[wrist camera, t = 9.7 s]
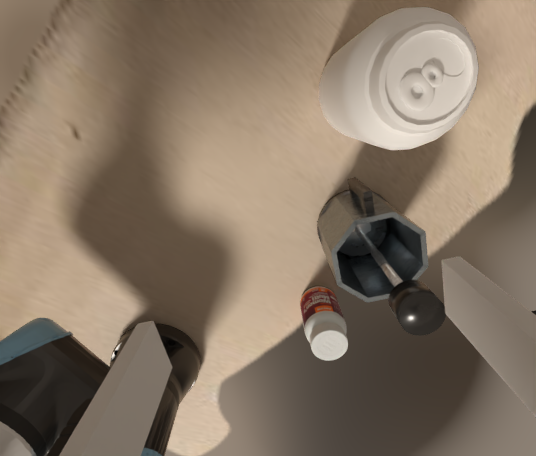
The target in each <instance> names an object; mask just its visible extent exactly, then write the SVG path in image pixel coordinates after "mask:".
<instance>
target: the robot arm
mask: <svg viewBox="0 0 536 456" xmlns="http://www.w3.org/2000/svg"><path fill="white" fill-rule="evenodd" d="M442 273H443V288H444V302H445V314H446V315H447V316H448V317H449V318H450V319H451V320H452V321H453V323H454V324H455V325H456V326H457V327H458V328H459V330H460V331H461V332H462V333H463V334H464V335H465V336H466V338H467V339H468V340H469V341H470V342H471V343H472V345H473V346H474V347H475V348H476V349H477V350H478V351H479V353H480V354H481V355H482V356H483V357H484V358H485V360H486V361H487V362H488V363H489V364H490V365H491V366H492V368H493V369H494V370H495V371H496V372H497V373H498V374H499V376H500V377H501V378H502V379H503V380H504V381H505V382H506V383H507V385H508V386H509V387H510V388H511V389H512V391H513V392H514V393H515V394H516V395H517V396H518V397H519V399H520V400H521V401H522V402H523V403H524V404H525V406H526V407H527V408H528V409H529V410H530V411H531V412H532V414H533V415H534V416H535V417H536V311H530V310H528V309H527V308H526V307H524V306H523V305H522V304H521V303H519V302H518V301H517V300H516V299H514V298H513V297H512V296H510V295H509V294H508V293H506V292H505V291H504V290H502V289H501V288H500V287H499V286H497V285H496V284H495V283H493V282H492V281H491V280H489V279H488V278H487V277H486V276H484V275H483V274H482V273H481V272H479V271H478V270H477V269H475V268H474V267H472V266H471V265H470V264H469V263H467V262H466V261H465V260H464V259H462V258H461V257H459V256H458V257H454V258H449V259H444V260H442ZM200 364H201V360H200V354H199V351H198V349H197V347H196V345H195V343H194V342H193V341H192V340H191V339H190V338H189V337H188V336H187V335H186V334H185V333H183V332H182V331H180V330H178V329H176V328H173V327H171V326H167V325H163V324H154V321H148V322H143V323H138V324H137V325H136V327H135V328H133V329H131V330H129V331H128V332H127V333H125V334H124V335H123V336H122V338H121V339H120V340H119V342H118V344H117V345H116V347H115V349H114V351H113V353H112V356H111V362H110V367H109V366H108V365H107V364H105V363H104V362H103V361H102V360H101V359H99V358H98V357H97V356H96V355H95V354H94V353H92V352H91V351H90V350H89V349H88V348H86V347H85V346H84V345H83V344H82V343H80V342H79V341H78V340H77V339H76V338H75V337H73V334H72V333H71V332H67V331H66V330H64V329H63V328H62V327H60V326H59V325H58V324H56V323H55V322H54V321H52V320H51V319H48V318H37V319H34V320H32V321H30V322H29V323H27V324H25V325H24V326H22V327H21V328H19V329H18V330H16V331H15V332H13V333H12V334H10V335H9V336H7V337H6V338H4V339H3V340H2V341H0V456H164V455H165V452H166V448H167V445H168V441H169V438H170V434H171V431H172V427H173V424H174V420H175V417H176V413H177V410H178V406H179V404H180V402H181V401H182V399H183V398H184V397H185V395H186V394H187V392H189V391H190V389H191V388H192V387H193V385H194V384H195V382H196V380H197V377H198V373H199V369H200Z"/></svg>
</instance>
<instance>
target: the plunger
mask: <svg viewBox="0 0 536 456" xmlns="http://www.w3.org/2000/svg"><path fill="white" fill-rule="evenodd" d="M386 231H387V224H386V220H385V219H382V220H377V221H373V222H368V223H364V224H359V225H357V226H356V227H355V228H354V230H353V231H352V232H351V234H350V235H349V236H348V238H347V239H346V240H345V242H344V243H343V245H342V246H341V247H340V249H339V251H341V252H342V253H344V254H346V255H350V256H362V255H366V254H368V253H371V255H372V256H373V257H374V259H375V260H376V262H377V263H378V264H379V266H380V267H381V268H382V270H383V271H384V273H385V274H386V275H387V277H388V278H389V280H390V281H391V282H392V284H393V285H394V288H393V289H392V291H391V292H390V295H389V300H388V302H389V306H390V307H391V310H392V311H393V313H394V314H395V316H396V318H397V319H398V321H399V323H400V324H401V326H402V327H403V328H404V330H405V331H406V332H408V333H410V334H413V335H426V334H430V333H432V332H434V331H435V330H437V329H438V328H439V327H440V326H441V324H442V323H443V322H444V320H445V317H446V314H445V306H444V305H443V303H442V302H441V301H440V300H439V299H438V298H437V297H436V295H435V294H434V293H433V292H432V291H431V290H430V289H429V288H428V286H426V285H425V284H424V283H423V282H421V281H418V280H406V281H402V280H401V278H400V277H399V276H398V275H397V273H396V272H395V271H394V269H393V268H392V267H391V266H390V264H389V263H388V262H387V261H386V259H385V258H384V257H383V255H382V254H381V253H380V252H379V250H378V249H377V247H379V245H380V244H381V243H382V241H383V240H384V238H385V235H386Z"/></svg>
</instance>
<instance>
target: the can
mask: <svg viewBox="0 0 536 456" xmlns="http://www.w3.org/2000/svg"><path fill="white" fill-rule="evenodd" d="M478 69H479V66H478V60H477V54H476V48H475V45H474V43H473V41H472V39H471V37H470V35H469V33H468V32H467V30H466V28H465V27H464V26H463V25H462V24H461V23H460V22H458V21H457V20H456V19H455V18H454V17H452V16H451V15H450V14H448V13H445V12H442V11H439V10H436V9H432V8H429V7H414V8H400V9H398V10H396V11H393V12H391V13H389V14H386V15H384V16H381V17H379V18H378V19H377V20H375V21H374V22H373V23H372V24H370V25H369V26H368V27H367V28H365V29H364V30H363V31H361V32H360V33H359V34H358V35H356V36H355V37H354V38H353V39H351V40H350V41H349V42H348V43H346V44H345V45H344V46H343V47H342V48H340V49H339V50H338V51H337V52H336V53H335V54H333V55H332V57H331V58H330V60H329V61H328V63H327V65H326V66H325V68H324V69H323V72H322V76H321V79H320V83H319V103H320V106H321V109H322V112H323V115H324V117H325V118H326V119H327V121H328V122H329V123H330V125H331V126H332V127H333V128H334V129H336V130H337V131H339V132H340V133H342V134H343V135H346V136H349V137H351V138H354V139H357V140H360V141H363V142H365V143H368V144H371V145H374V146H378V147H381V148H385V149H388V150H407V149H413V148H416V147H418V146H421V145H424V144H426V143H429V142H432V141H434V140H436V139H438V138H439V137H440V136H442V135H443V134H444V133H446V132H447V131H448V130H450V129H451V128H453V126H454V125H455V124H456V123H457V121H458V120H459V119H460V118H461V116H462V115H463V114H464V113H465V111H466V110H467V108H468V106H469V103H470V101H471V99H472V96H473V94H474V92H475V90H476V83H477V76H478Z"/></svg>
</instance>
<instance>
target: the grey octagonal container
mask: <svg viewBox="0 0 536 456" xmlns="http://www.w3.org/2000/svg"><path fill="white" fill-rule="evenodd" d="M348 184H349V190H346V191H343V192H341V193H339V194H337V195H335V196H334V197H333V198H331V199H330V200H329V201H328V202H327V203H326V205H325V206H324V207H323V209H322V211H321V213H320V215H319V218H318V221H317V222H318V224H317V230H318V236H319V239H320V241H321V244H322V248H323V251H324V253H325V256H326V258H327V261H328V263H329V266H330V268H331V271H332V273H333V276H334V278H335V281H336V283H337V286H339V287H341V288H343V289H345V290H346V291H348V292H350V293H351V294H353V295H355V296H357V297H359V298H360V299H362V300H364V301H366V302H372V301H377V300H382V299H386V298H389V295H390V292H391V291H392V289H393V288H394V285H393V284H392V282H391V281H390V280H389V278H388V277H387V275H386V274H385V273H384V271H383V270H382V268H381V267H380V266H379V264H378V263H377V262H376V260H375V259H374V257H373V256H372V255H371V253H368V254H366V255H362V256H350V255H346V254H344V253H342V252H341V251H339V249H340V247H341V246H342V245H343V243H344V242H345V240H346V239H347V238H348V236H349V235H350V234H351V232H352V231H353V230H354V228H355V227H356V226H357V225H359V224H364V223H368V222H373V221H377V220H382V219H385V220H386V224H387V231H386V235H385V238H384V240H383V241H382V243H381V244H380V245H379V247H377V249H378V250H379V252H380V253H381V254H382V255H383V257H384V258H385V259H386V261H387V262H388V263H389V264H390V266H391V267H392V268H393V269H394V271H395V272H396V273H397V275H398V276H399V277H400V278H401V280H402V281H406V280H417V279H418V278H419V277H420V275H421V274H422V273H423V272H424V271H425V270H426V268H427V267H428V256H427V245H426V233H425V231H424V230H423V229H421V228H420V227H419V226H418V225H416V224H415V223H414V222H412V221H411V220H410V219H409V218H407V217H406V216H405V215H403V214H402V213H401V212H400V211H398V210H397V209H396V208H394V207H393V206H392V205H391V204H389V203H387V202H386V201H385V200H384V199H383V198H382V197H381V196H379V195H378V194H376V193H374V192H372V190H370V189H369V188H368V187H366V186H365V185H364V184H363V183H361V182H360V181H359V180H358V179H356V178H355V177H354V178H350V179H348Z"/></svg>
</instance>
